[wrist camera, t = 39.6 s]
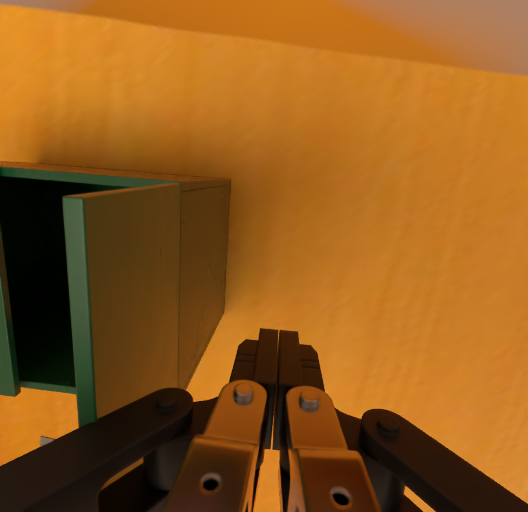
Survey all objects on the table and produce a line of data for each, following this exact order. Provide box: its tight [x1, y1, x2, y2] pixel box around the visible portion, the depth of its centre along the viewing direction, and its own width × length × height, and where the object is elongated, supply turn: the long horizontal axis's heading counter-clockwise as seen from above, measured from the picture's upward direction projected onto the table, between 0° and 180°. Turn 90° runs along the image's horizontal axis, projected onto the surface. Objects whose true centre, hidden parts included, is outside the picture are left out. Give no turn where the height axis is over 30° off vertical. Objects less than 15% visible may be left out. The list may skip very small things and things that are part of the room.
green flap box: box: [0, 161, 231, 397], centre depth 22 cm, size 17×12×13 cm
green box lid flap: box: [62, 183, 181, 492], centre depth 11 cm, size 8×12×1 cm
